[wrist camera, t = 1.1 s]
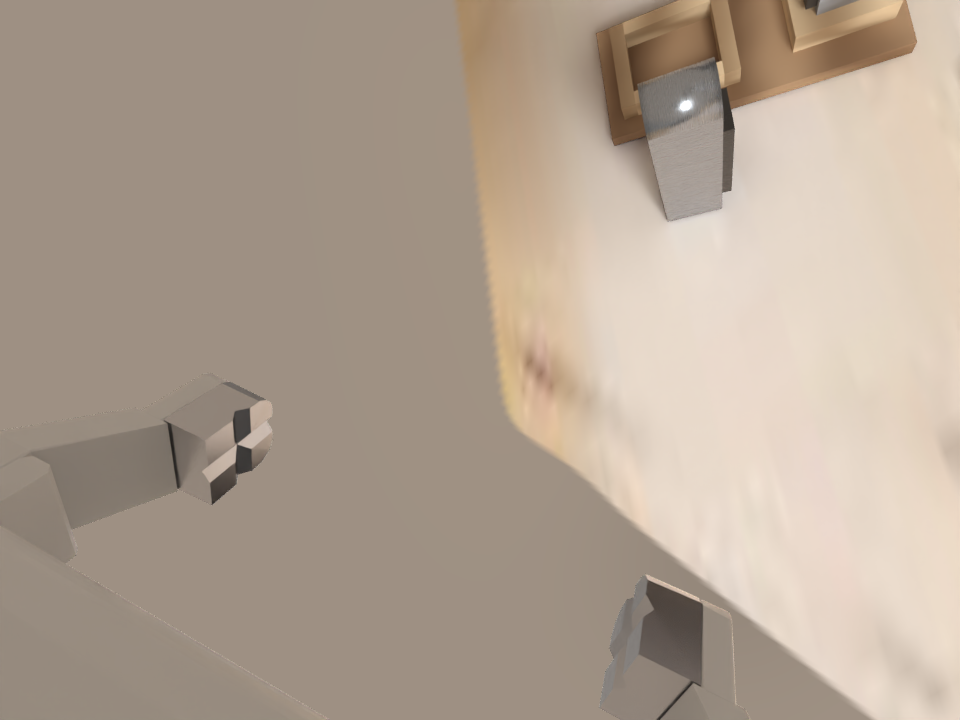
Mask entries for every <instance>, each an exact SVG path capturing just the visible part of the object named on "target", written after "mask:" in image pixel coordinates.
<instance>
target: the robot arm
mask: <svg viewBox="0 0 960 720" xmlns="http://www.w3.org/2000/svg"><path fill="white" fill-rule="evenodd" d="M272 415H273V414H272V403H271V402H269V401H268V400H266V399H264V398H262V397H260V396H258V395H256V394H254V393H252V392H250V391H248V390H246V389H244V388H242V387H240V386H238V385H236V384H234V383H231V382H229V381H227V380H225V379H223V378H221V377H219V376H217V375H215V374H213V373H208V374H202V375H200V376H199V377H197V378H195V379H193V380H192V381H190V382H188V383H187V384H185V385H183V386H182V387H180V388H178V389H176V390H175V391H173V392H171V393H170V394H168V395H166V396H165V397H163V398H161V399H159V400H158V401H156V402H154V403H153V404H151V405H149V406H148V407H146V408H144V409H143V410H140V409H137V408H129V409H124V410H118V411H112V412H106V413H100V414H95V415H89V416H83V417H77V418H71V419H66V420H59V421H54V422H48V423H42V424H36V425H30V426H25V427H19V428H13V429H7V430H1V431H0V720H330V719H328V718H326V717H325V716H323V715H321V714H320V713H318V712H316V711H314V710H313V709H311V708H310V707H308V706H306V705H305V704H303V703H301V702H299V701H298V700H296V699H294V698H293V697H291V696H289V695H288V694H286V693H284V692H283V691H281V690H279V689H277V688H276V687H274V686H272V685H271V684H269V683H267V682H266V681H264V680H262V679H261V678H259V677H257V676H255V675H254V674H252V673H250V672H248V671H247V670H245V669H244V668H242V667H240V666H239V665H237V664H235V663H233V662H232V661H230V660H228V659H227V658H225V657H223V656H222V655H220V654H218V653H216V652H214V651H213V650H211V649H210V648H208V647H206V646H205V645H203V644H201V643H200V642H198V641H196V640H195V639H193V638H191V637H189V636H188V635H186V634H184V633H183V632H181V631H179V630H177V629H176V628H174V627H172V626H171V625H169V624H167V623H166V622H164V621H162V620H160V619H159V618H157V617H156V616H154V615H152V614H150V613H149V612H147V611H145V610H144V609H142V608H140V607H139V606H137V605H135V604H133V603H132V602H130V601H128V600H127V599H125V598H123V597H122V596H120V595H118V594H116V593H115V592H113V591H111V590H110V589H108V588H106V587H105V586H103V585H101V584H100V583H98V582H96V581H94V580H93V579H91V578H89V577H88V576H86V575H84V574H82V573H81V572H79V571H77V570H76V569H74V568H72V567H71V566H69V565H67V564H66V563H67V562H68V561H70V560H71V559H72V558H73V557H75V556H76V553H77V549H78V548H77V545H76V542H75V539H74V536H73V533H72V529H75V528H78V527H81V526H83V525H86V524H89V523H92V522H94V521H97V520H100V519H102V518H105V517H108V516H111V515H113V514H116V513H119V512H122V511H124V510H127V509H130V508H132V507H135V506H138V505H141V504H144V503H146V502H149V501H152V500H155V499H157V498H160V497H163V496H166V495H168V494H171V493H174V492H177V489H179V490H181V491H183V492H185V493H188V494H190V495H192V496H194V497H196V498H198V499H200V500H202V501H204V502H206V503H208V504H210V505H213V504H214V503H215V502H216V501H217V500H219V499H220V498H221V497H222V496H223V495H225V494H226V493H227V492H228V491H229V490H230V489H232V488H233V487H234V486H235V485H236V484H237V478H238V474H242V473H245V472H249V471H252V470H253V469H254V468H256V467H257V466H258V465H259V464H260V463H261V462H262V461H263V459H264V458H265V456H266V454H267V453H268V451H269V450H270V447H271V443H272V440H273V431H272V429H271V427H270V425H269V424H268V422H267V420H268V419H269V418H270V417H271V416H272ZM610 651H611V653H612V656H613V658H614V660H613V661H612V662H611V664H610V665H609V667H608V668H607V670H606V671H605V677H604V683H603V689H602V695H601V701H600V708H601V709H602V710H604V711H606V712H608V713H610V714H611V715H613V716H615V717H617V718H619V719H620V720H751V719H750V717H749V715H748V714H747V712H746V710H745V709H744V708H742V707H740V706H738V705H736V693H735V671H734V650H733V630H732V617H731V615H730V613H729V612H728V611H726V610H724V609H721V608H719V607H717V606H715V605H713V604H710V603H708V602H706V601H704V600H702V599H698V597H696V596H694V595H691V594H689V593H687V592H685V591H682V590H680V589H678V588H676V587H673V586H671V585H669V584H667V583H664V582H662V581H660V580H658V579H656V578H653V577H651V576H649V575H647V574H645V575H643V576H642V577H641V578H640V580H639V581H638V583H637V584H636V587H635V594H634V598H630V599H627V600H626V601H625V603H624V605H623V607H622V608H621V610H620V612H619V615H618V618H617V620H616V622H615V625H614V629H613V633H612V637H611V643H610Z"/></svg>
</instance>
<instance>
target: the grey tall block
mask: <svg viewBox="0 0 960 720" xmlns="http://www.w3.org/2000/svg"><path fill="white" fill-rule="evenodd" d="M637 86H638V94H639V100H640V106H641V112H642V117H643V122H644V127H645V132H646V137H647V141H648V145H649V149H650V153H651V157H652V161H653V165H654V169H655V173H656V177H657V181H658V185H659V189H660V193H661V197H662V201H663V204H664V208H665V212H666V216H667V220H668V222H669V221H673V220H677V219H681V218H685V217H689V216H693V215H697V214H701V213H705V212H709V211H713V210H717V209H721V208H722V193H723V192H727V191H731V186H732V168H733V150H734V132H735V128H734V123H733V117H732V112H731V107H730V102H729V97H728V91H727V87H726V88H723V89H721V85H720V79H719V73H718V68H717V64H716V60H715V57H712V58H709V59H707V60H704V61H701V62H698V63H695V64H692V65H690V66H687V67H684V68H681V69H678V70H675V71H673V72H670V73H667V74H664V75H661V76H659V77H656V78H653V79H650V80H647V81H644V82H642V83H639V84H637Z"/></svg>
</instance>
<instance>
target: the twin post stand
mask: <svg viewBox="0 0 960 720" xmlns="http://www.w3.org/2000/svg"><path fill="white" fill-rule="evenodd" d="M596 35H597V42H598V48H599V55H600V62H601V68H602V75H603V82H604V88H605V95H606V102H607V108H608V115H609V122H610V128H611V135H612V140H613V143H614V146H615V145H618V144H622V143H625V142H628V141H631V140H634V139H638V138H641V137H644V136H646V132H645V127H644V122H643V117H642V112H641V106H640V100H639V94H638V86H637V84H639V83H642V82H644V81H647V80H650V79H653V78H656V77H659V76H661V75H664V74H667V73H670V72H673V71H675V70H678V69H681V68H684V67H687V66H690V65H692V64H695V63H698V62H701V61H704V60H707V59H709V58H712V57H715V60H716V64H717V68H718V73H719V79H720V85H721V89H723V88H726V87H727V91H728V97H729V102H730V107H731V109H733V108H736V107H740V106H743V105H746V104H749V103H752V102H756V101H759V100H762V99H765V98H768V97H772V96H775V95H778V94H781V93H784V92H787V91H791V90H794V89H797V88H800V87H803V86H807V85H810V84H813V83H816V82H819V81H823V80H826V79H829V78H832V77H835V76H839V75H842V74H845V73H848V72H851V71H854V70H858V69H861V68H864V67H867V66H870V65H874V64H877V63H880V62H883V61H886V60H890V59H893V58H896V57H899V56H902V55H905V54H909V53H912V51H913V49H914V47H915V45H916V43H917V40H916V36H915V32H914V28H913V24H912V21H911V17H910V13H909V9H908V5H907V2H906V0H678V1H675V2H673V3H670V4H668V5H665V6H663V7H660V8H658V9H655V10H653V11H650V12H648V13H645V14H643V15H640V16H638V17H635V18H633V19H631V20H628V21H626V22H623V23H621V24H618V25H616V26H613V27H611V28H609V29H606V30H604V31H601V32H599V33H596Z"/></svg>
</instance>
